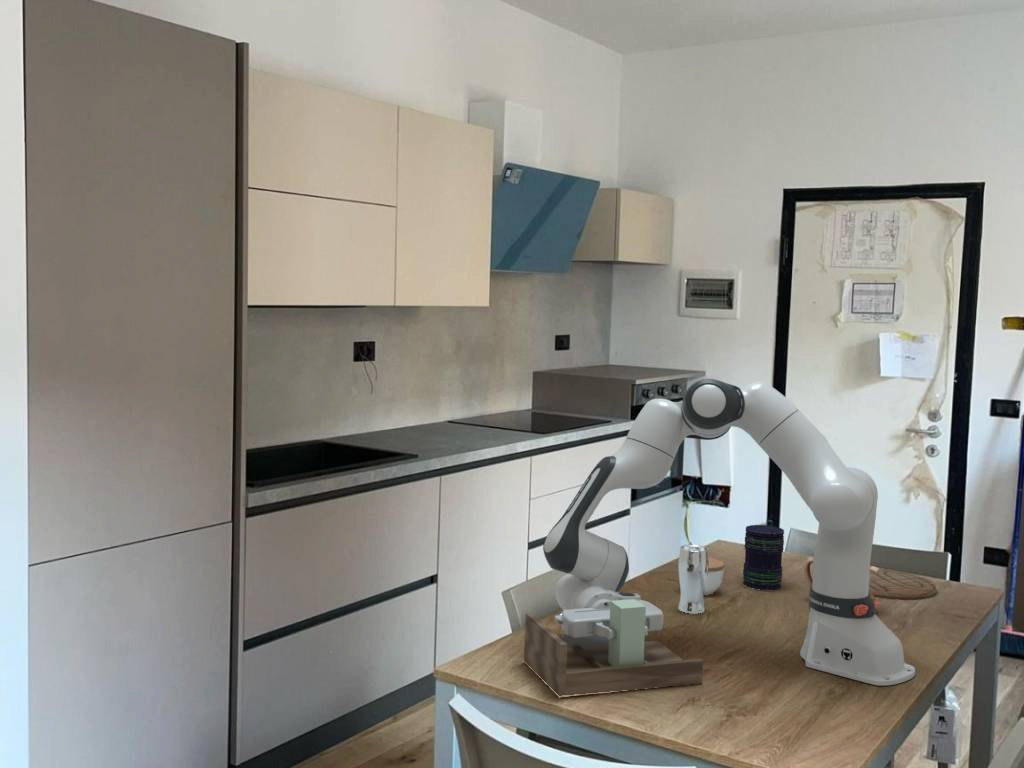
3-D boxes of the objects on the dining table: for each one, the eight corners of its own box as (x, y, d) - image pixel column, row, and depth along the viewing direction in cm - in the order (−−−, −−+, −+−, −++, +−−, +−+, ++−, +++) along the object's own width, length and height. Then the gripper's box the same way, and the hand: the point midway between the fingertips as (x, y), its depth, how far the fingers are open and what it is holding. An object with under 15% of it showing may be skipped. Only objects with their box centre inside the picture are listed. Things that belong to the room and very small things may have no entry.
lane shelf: (523, 662, 200) (525, 613, 200) (656, 650, 210) (658, 603, 209) (559, 698, 183) (561, 644, 182) (701, 683, 192) (704, 632, 191)
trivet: (872, 603, 250) (872, 596, 250) (816, 576, 274) (816, 569, 274) (957, 598, 256) (958, 591, 256) (895, 572, 281) (896, 565, 280)
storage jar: (734, 582, 264) (737, 526, 263) (764, 579, 268) (767, 523, 267) (758, 592, 255) (762, 534, 254) (789, 589, 259) (792, 532, 258)
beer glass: (697, 616, 233) (700, 553, 232) (671, 610, 238) (673, 547, 236) (711, 610, 239) (714, 547, 238) (684, 604, 243) (687, 542, 242)
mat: (542, 638, 215) (542, 636, 215) (598, 633, 219) (598, 631, 219) (563, 657, 204) (563, 655, 204) (622, 652, 208) (622, 650, 208)
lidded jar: (692, 583, 262) (694, 548, 261) (730, 592, 255) (732, 555, 254) (671, 592, 253) (673, 555, 253) (709, 601, 247) (711, 563, 246)
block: (608, 662, 193) (610, 600, 192) (631, 659, 195) (634, 599, 194) (619, 671, 189) (621, 608, 188) (643, 669, 190) (645, 606, 189)
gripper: (551, 600, 200) (578, 621, 187) (644, 593, 207) (677, 613, 193) (550, 631, 200) (577, 654, 187) (643, 623, 207) (675, 645, 194)
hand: (629, 633), depth 190 cm, fingers closed on block, 5 cm apart
